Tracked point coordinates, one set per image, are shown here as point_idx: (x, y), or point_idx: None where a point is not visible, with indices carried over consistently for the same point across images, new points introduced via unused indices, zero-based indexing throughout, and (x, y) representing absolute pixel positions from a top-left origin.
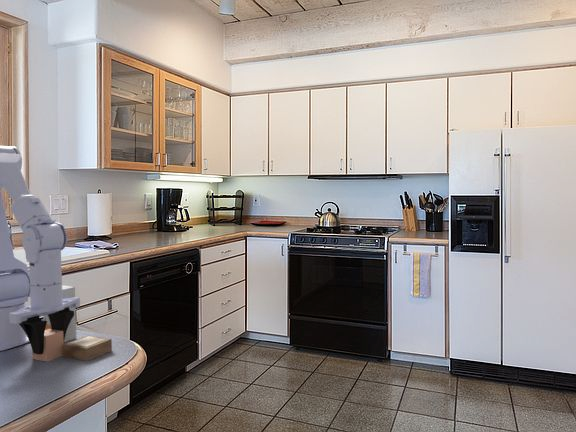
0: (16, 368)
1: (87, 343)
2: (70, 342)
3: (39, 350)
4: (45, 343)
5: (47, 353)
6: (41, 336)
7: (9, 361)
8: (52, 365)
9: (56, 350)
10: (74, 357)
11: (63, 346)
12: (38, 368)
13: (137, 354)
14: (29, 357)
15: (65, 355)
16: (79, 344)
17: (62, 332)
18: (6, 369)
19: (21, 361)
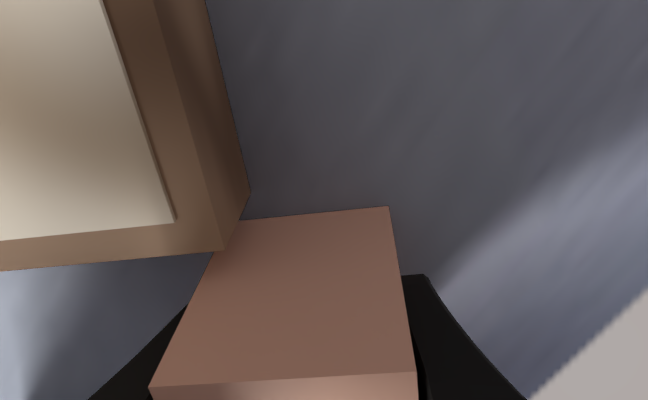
0: (587, 260)
1: (14, 22)
2: (146, 239)
3: (438, 297)
4: (405, 312)
5: (384, 239)
6: (473, 394)
7: None
8: (426, 79)
9: (288, 247)
10: (215, 63)
11: (229, 233)
12: (528, 118)
13: None
14: None
15: (243, 175)
16: (107, 79)
17: (167, 371)
18: (625, 297)
19: None
